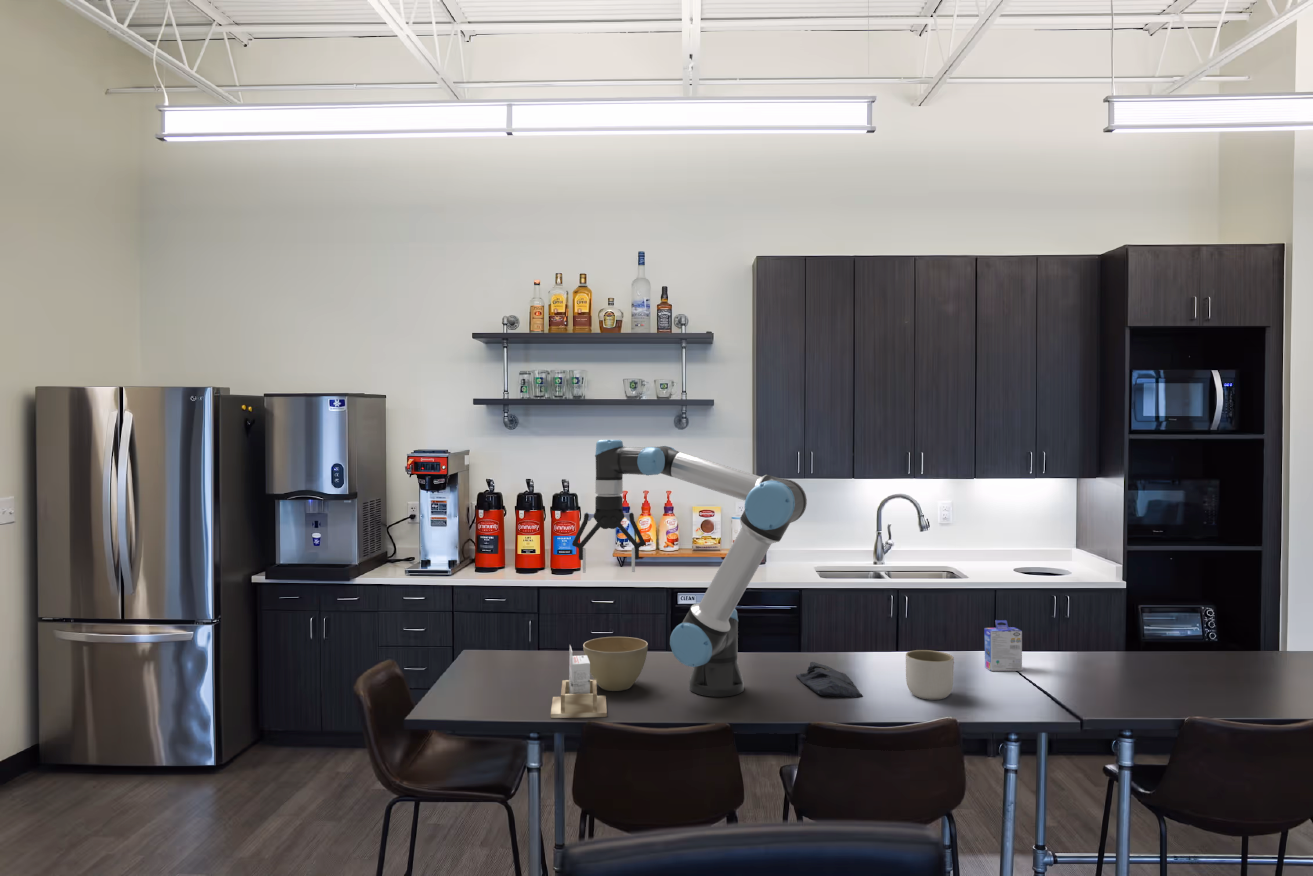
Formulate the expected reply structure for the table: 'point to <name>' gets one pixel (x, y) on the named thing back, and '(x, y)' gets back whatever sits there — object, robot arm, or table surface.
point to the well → (578, 703)
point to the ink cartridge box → (1003, 648)
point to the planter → (929, 674)
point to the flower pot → (616, 661)
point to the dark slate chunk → (828, 681)
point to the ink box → (579, 674)
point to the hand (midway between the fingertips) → (608, 571)
